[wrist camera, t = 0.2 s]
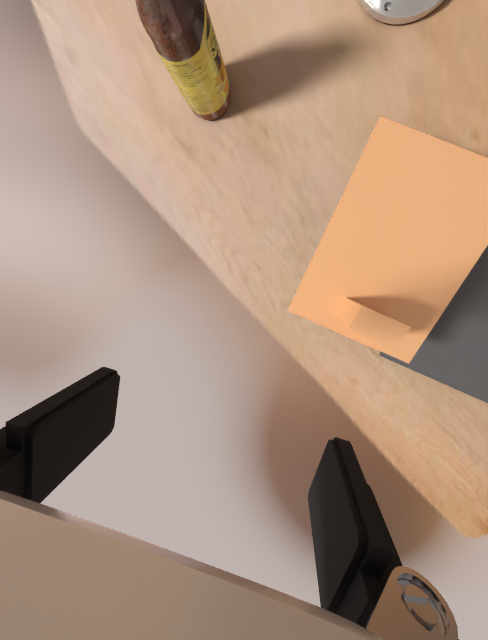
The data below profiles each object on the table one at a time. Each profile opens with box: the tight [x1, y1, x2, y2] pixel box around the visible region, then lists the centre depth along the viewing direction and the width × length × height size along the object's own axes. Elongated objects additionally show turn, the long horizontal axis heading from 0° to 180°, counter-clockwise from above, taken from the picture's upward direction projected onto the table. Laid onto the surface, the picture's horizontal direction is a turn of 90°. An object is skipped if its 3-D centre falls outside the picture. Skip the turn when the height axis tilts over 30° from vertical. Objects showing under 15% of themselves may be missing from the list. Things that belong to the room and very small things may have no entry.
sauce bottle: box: [136, 0, 230, 120], centre depth 25 cm, size 7×6×20 cm
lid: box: [288, 116, 488, 364], centre depth 26 cm, size 22×16×8 cm
